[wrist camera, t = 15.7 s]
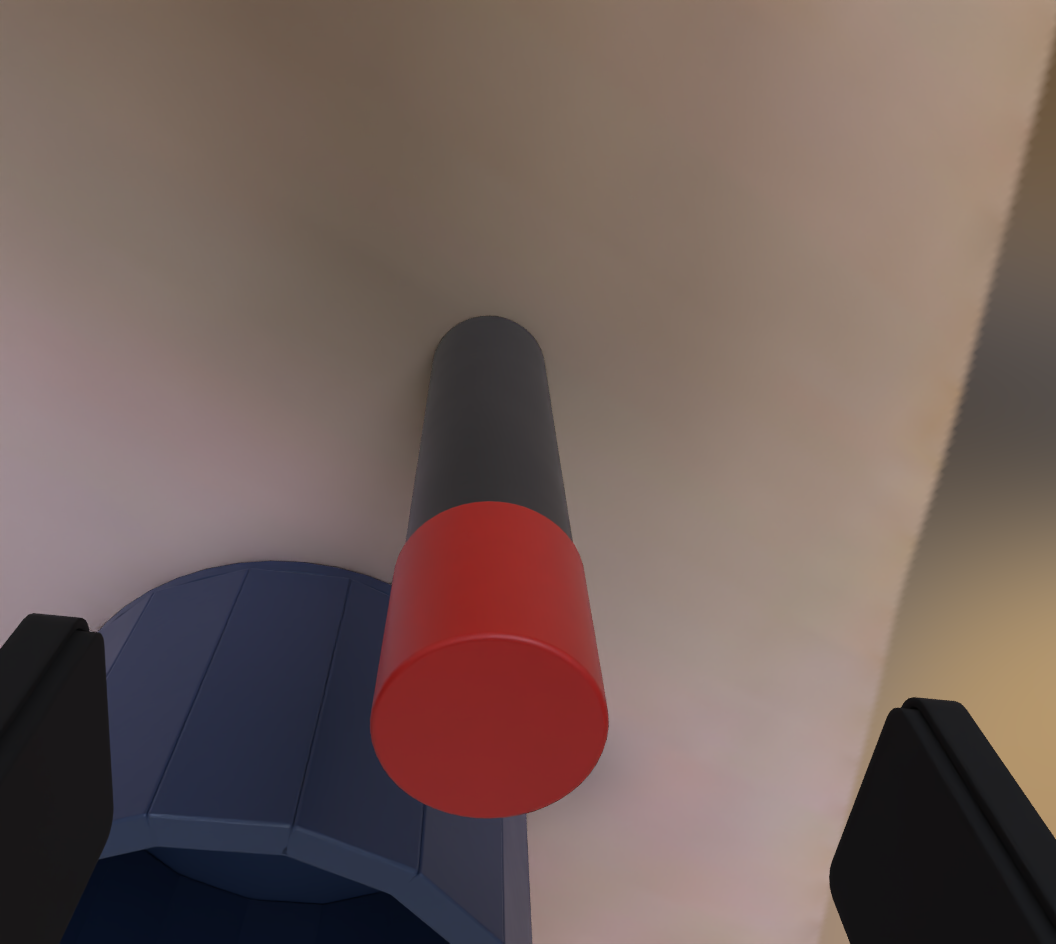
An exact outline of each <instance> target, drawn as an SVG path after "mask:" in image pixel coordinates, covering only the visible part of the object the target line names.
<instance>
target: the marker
mask: <svg viewBox="0 0 1056 944" xmlns="http://www.w3.org/2000/svg"><path fill="white" fill-rule="evenodd" d="M608 727H609V721H608V709H607V703H606V697H605V692H604V686H603V680H602V674H601V668H600V662H599V656H598V650H597V644H596V638H595V632H594V626H593V620H592V614H591V609H590V603H589V597H588V591H587V585H586V579H585V573H584V568H583V563H582V561H581V558H580V555H579V553H578V551H577V549H576V547H575V545H574V544H573V541H572V534H571V528H570V521H569V515H568V509H567V502H566V496H565V490H564V483H563V477H562V470H561V464H560V458H559V451H558V445H557V438H556V432H555V426H554V419H553V413H552V407H551V400H550V394H549V387H548V381H547V375H546V368H545V362H544V357H543V354H542V351H541V348H540V346H539V344H538V343H537V341H536V340H535V338H534V337H533V336H532V335H531V334H530V333H529V332H528V331H527V330H526V329H525V328H524V327H522V326H521V325H519V324H518V323H516V322H513V321H511V320H509V319H506V318H502V317H497V316H480V317H475V318H471V319H468V320H466V321H463V322H461V323H459V324H458V325H456V326H455V327H453V328H452V329H451V330H450V331H449V332H448V333H447V334H446V335H445V336H444V337H443V338H442V340H441V341H440V343H439V345H438V347H437V349H436V351H435V354H434V358H433V364H432V371H431V377H430V384H429V390H428V397H427V404H426V410H425V417H424V423H423V430H422V437H421V443H420V450H419V456H418V463H417V470H416V476H415V483H414V489H413V496H412V503H411V509H410V516H409V522H408V529H407V536H406V542H405V545H404V546H403V548H402V550H401V552H400V554H399V556H398V559H397V562H396V565H395V569H394V575H393V581H392V587H391V593H390V600H389V606H388V612H387V618H386V624H385V630H384V636H383V642H382V648H381V654H380V661H379V667H378V673H377V679H376V685H375V691H374V697H373V703H372V709H371V716H370V734H371V740H372V744H373V747H374V750H375V753H376V755H377V758H378V759H379V761H380V763H381V765H382V767H383V769H384V770H385V771H386V773H387V774H388V776H389V777H390V778H391V779H392V780H393V781H394V782H395V783H396V784H397V785H398V786H399V787H400V788H401V789H402V790H403V791H405V792H406V793H407V794H408V795H410V796H411V797H413V798H414V799H416V800H418V801H419V802H421V803H423V804H425V805H427V806H430V807H432V808H434V809H437V810H440V811H443V812H446V813H449V814H453V815H458V816H463V817H471V818H489V819H491V818H505V817H511V816H517V815H522V814H526V813H529V812H533V811H536V810H538V809H541V808H544V807H546V806H548V805H550V804H552V803H554V802H556V801H558V800H560V799H561V798H563V797H564V796H566V795H567V794H569V793H570V792H572V791H573V790H574V789H575V788H576V787H578V786H579V785H580V784H581V783H582V782H583V781H584V780H585V779H586V777H587V776H588V775H589V774H590V773H591V771H592V770H593V768H594V767H595V765H596V764H597V762H598V760H599V758H600V756H601V754H602V752H603V749H604V746H605V743H606V740H607V734H608Z"/></svg>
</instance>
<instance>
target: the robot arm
mask: <svg viewBox="0 0 1056 944" xmlns="http://www.w3.org/2000/svg"><path fill="white" fill-rule="evenodd" d="M113 813H114V804H113V787H112V769H111V752H110V734H109V717H108V699H107V682H106V664H105V647H104V638H103V636H102V634H101V633H98V632H89V627H88V624H87V622H86V620H85V619H83V618H77V617H67V616H56V615H46V614H35V613H33V614H29V615H28V616H27V617H26V618H24V619H23V621H22V622H21V623H20V624H19V626H18V627H17V628H16V630H15V631H14V632H13V633H12V635H11V636H10V637H9V638H8V640H7V641H6V642H5V644H4V645H3V646H2V647H1V649H0V944H59V943H60V941H61V939H62V937H63V935H64V932H65V930H66V928H67V926H68V924H69V922H70V920H71V917H72V915H73V913H74V911H75V909H76V907H77V905H78V902H79V900H80V898H81V896H82V894H83V892H84V890H85V887H86V885H87V883H88V881H89V879H90V877H91V875H92V872H93V870H94V868H95V866H96V864H97V862H98V860H99V858H100V855H101V853H102V851H103V849H104V847H105V845H106V842H107V840H108V837H109V834H110V830H111V826H112V821H113ZM829 880H830V890H831V894H832V898H833V900H834V903H835V906H836V908H837V911H838V913H839V916H840V918H841V921H842V924H843V926H844V929H845V931H846V934H847V936H848V939H849V941H850V944H1056V839H1055V838H1054V836H1053V835H1052V833H1051V832H1050V830H1049V829H1048V827H1047V826H1046V824H1045V823H1044V822H1043V820H1042V819H1041V817H1040V816H1039V814H1038V813H1037V811H1036V810H1035V808H1034V807H1033V806H1032V804H1031V803H1030V801H1029V800H1028V798H1027V797H1026V795H1025V794H1024V792H1023V791H1022V790H1021V788H1020V787H1019V785H1018V784H1017V782H1016V781H1015V779H1014V778H1013V776H1012V775H1011V774H1010V772H1009V771H1008V769H1007V768H1006V766H1005V765H1004V763H1003V762H1002V761H1001V759H1000V758H999V756H998V755H997V753H996V752H995V750H994V749H993V747H992V746H991V745H990V743H989V742H988V740H987V739H986V737H985V736H984V734H983V733H982V732H981V730H980V729H979V727H978V726H977V724H976V723H975V721H974V720H973V718H972V717H971V716H970V714H969V713H968V711H967V710H966V709H965V707H964V706H963V705H962V704H961V703H958V702H956V701H947V700H936V699H926V698H915V697H913V698H909V699H907V700H906V701H905V702H904V703H903V705H902V707H901V708H894V709H893V710H891V711H890V713H889V714H888V716H887V719H886V721H885V724H884V726H883V729H882V732H881V734H880V737H879V740H878V742H877V745H876V748H875V750H874V753H873V755H872V758H871V761H870V763H869V766H868V768H867V771H866V774H865V776H864V779H863V782H862V784H861V787H860V789H859V792H858V795H857V798H856V800H855V803H854V805H853V808H852V811H851V813H850V816H849V818H848V821H847V824H846V826H845V829H844V832H843V834H842V837H841V839H840V842H839V845H838V847H837V850H836V853H835V855H834V858H833V860H832V863H831V867H830V875H829Z"/></svg>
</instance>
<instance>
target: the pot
mask: <svg viewBox="0 0 1056 944" xmlns="http://www.w3.org/2000/svg"><path fill="white" fill-rule="evenodd" d="M391 587H392V585H390V584H388V583H385V582H383V581H380V580H378V579H375V578H372V577H370V576H367V575H363V574H360V573H356V572H352V571H348V570H345V569H341V568H337V567H331V566H325V565H318V564H312V563H305V562H286V561H261V562H246V563H236V564H231V565H225V566H220V567H214V568H209V569H205V570H202V571H198V572H195V573H192V574H189V575H186V576H182V577H179V578H176V579H174V580H172V581H170V582H168V583H165V584H163V585H161V586H159V587H157V588H155V589H152V590H150V591H148V592H147V593H145V594H144V595H142V596H141V597H139V598H137V599H136V600H134V601H133V602H131V603H129V604H128V605H126V606H125V607H124V608H123V609H121V610H120V611H119V612H118V613H117V614H116V615H115V616H113V617H112V618H111V619H110V620H109V621H108V622H106V623H105V624H104V625H103V627H102V628H101V629H100V630H99V631H98V633H101V634H102V636H103V638H104V647H105V664H106V682H107V699H108V717H109V734H110V752H111V769H112V787H113V804H114V813H113V821H112V826H111V830H110V834H109V837H108V840H107V842H106V845H105V847H104V849H103V851H102V853H101V855H100V858H99V860H98V862H97V864H96V866H95V868H94V870H93V872H92V875H91V877H90V879H89V881H88V883H87V885H86V887H85V890H84V892H83V894H82V896H81V898H80V900H79V902H78V905H77V907H76V909H75V911H74V913H73V915H72V917H71V920H70V922H69V924H68V926H67V928H66V930H65V932H64V935H63V937H62V939H61V941H60V943H59V944H532V927H531V906H530V885H529V864H528V843H527V821H526V814H522V815H517V816H511V817H505V818H491V819H489V818H471V817H463V816H458V815H453V814H449V813H446V812H443V811H440V810H437V809H434V808H432V807H430V806H427V805H425V804H423V803H421V802H419V801H418V800H416V799H414V798H413V797H411V796H410V795H408V794H407V793H406V792H405V791H403V790H402V789H401V788H400V787H399V786H398V785H397V784H396V783H395V782H394V781H393V780H392V779H391V778H390V777H389V776H388V774H387V773H386V771H385V770H384V769H383V767H382V765H381V763H380V761H379V759H378V758H377V755H376V753H375V750H374V747H373V744H372V740H371V734H370V716H371V709H372V703H373V697H374V691H375V685H376V679H377V673H378V667H379V661H380V654H381V648H382V642H383V636H384V630H385V624H386V618H387V612H388V606H389V600H390V593H391Z"/></svg>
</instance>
